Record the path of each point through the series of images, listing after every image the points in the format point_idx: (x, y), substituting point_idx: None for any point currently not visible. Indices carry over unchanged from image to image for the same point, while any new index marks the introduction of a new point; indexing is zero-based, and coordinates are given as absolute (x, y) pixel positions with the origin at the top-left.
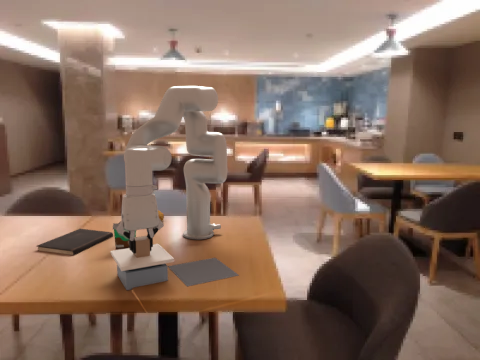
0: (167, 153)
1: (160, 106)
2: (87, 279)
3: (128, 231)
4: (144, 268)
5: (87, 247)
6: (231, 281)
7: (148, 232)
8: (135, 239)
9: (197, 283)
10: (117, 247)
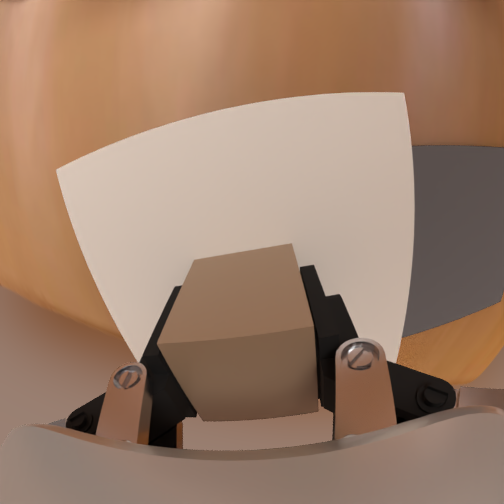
0: None
1: None
2: (58, 187)
3: (103, 423)
4: None
5: None
6: (475, 319)
7: (345, 389)
8: (194, 393)
9: (411, 331)
10: None
